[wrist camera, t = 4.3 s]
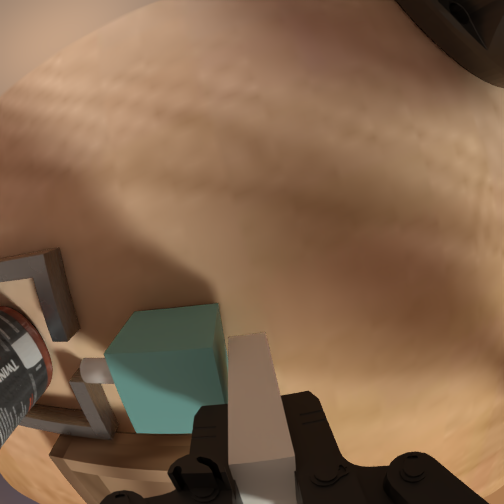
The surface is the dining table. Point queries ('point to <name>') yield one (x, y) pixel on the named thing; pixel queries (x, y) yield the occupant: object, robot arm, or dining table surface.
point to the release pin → (165, 367)
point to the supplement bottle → (20, 369)
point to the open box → (119, 463)
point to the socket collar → (61, 330)
